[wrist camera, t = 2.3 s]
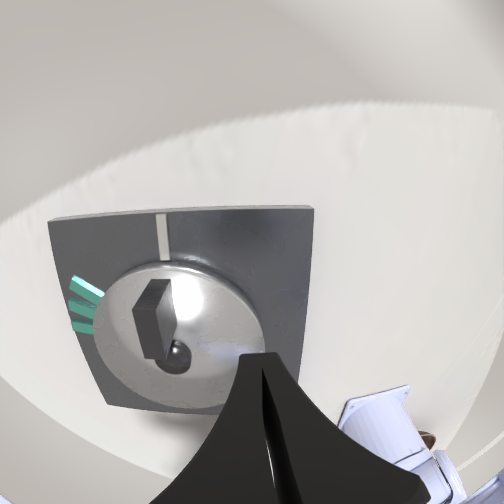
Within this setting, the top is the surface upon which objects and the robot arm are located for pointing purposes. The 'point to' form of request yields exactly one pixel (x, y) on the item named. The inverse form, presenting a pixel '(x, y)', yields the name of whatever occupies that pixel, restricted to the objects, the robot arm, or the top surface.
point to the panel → (196, 253)
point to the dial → (176, 333)
